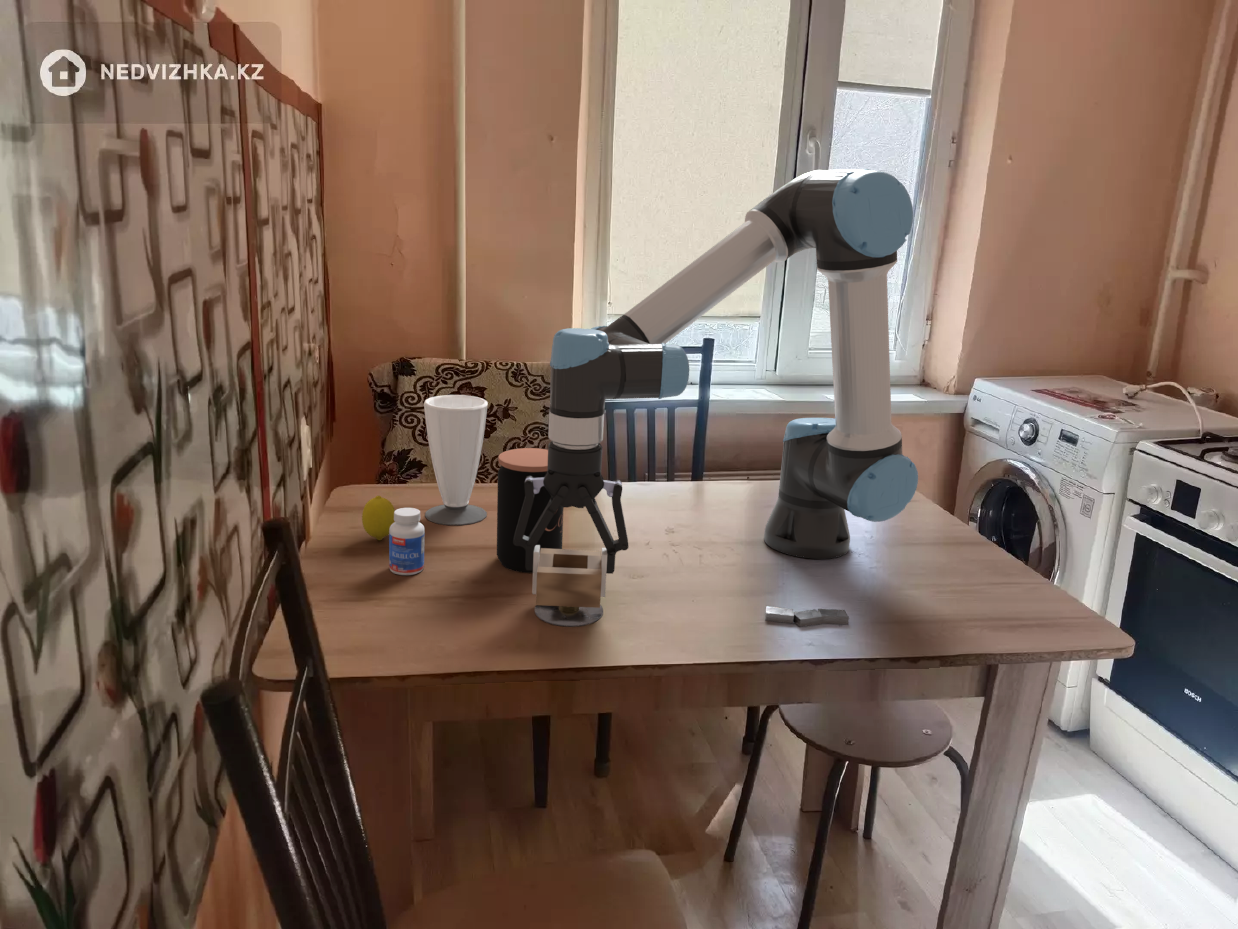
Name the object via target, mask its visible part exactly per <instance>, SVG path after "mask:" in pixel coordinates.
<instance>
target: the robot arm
mask: <svg viewBox="0 0 1238 929" xmlns="http://www.w3.org/2000/svg"><path fill="white" fill-rule="evenodd" d="M913 207H914V206H913V203H912V198H911V196H910V194H909V191H908V190H907V189H906V187H905V185H904V184H903V183H902V182H901V181H900V180H898V178H896V177H895V176H894V175H892V174H890V173H889V172H885V171H880V170H874V169H869V168H856V169H855V168H854V169H851V168H850V169H816V170H812V171H809V172H806V173H803V174H800V175H799V176H796V177H795V178H794V179H792V180H790V181H789V182H787V183H786V184H783V185H782V186H781V187H779V188H778V189H777V190H775V191H774V192H772V193H771V194H770V195H768V196H767V197H766V198H764V199H763V200H761V201H760V202H758V204H757V205H755V206H753V207H752V208H751V209H749V210H748V211H747V212H746V214H745V216H744V222H743V223H742V224H741V225H739V226H738V227H737V228H735V229H734V230H732V232H730V233H729V234H728V235H726V236H725V237H724V238H722V239H721V240H720V241H718V242H717V243H716V244H714V245H713V246H712V247H710V248H709V249H708V250H706V251H705V252H704V253H703V254H701V255H700V256H699V257H697V258H696V259H694V260H693V261H692V262H690V263H689V264H688V265H686V267H684V268H683V269H682V270H680V271H679V272H678V273H677V274H675V275H674V276H673V277H671V278H669V279H668V280H667V281H666V282H665V283H663V284H662V285H661V286H659V287H658V288H657V289H655V290H654V291H653V292H652V293H650V294H649V295H647V296H646V297H645V298H644V299H642V300H641V301H639V302H637V304H636V305H635V306H633V307H632V308H631V309H629V310H628V311H626V312H625V313H623V314H622V315H621V316H620V317H618V318H616V319H615V320H614V321H613V322H611V323H610V324H609V325H603V326H598V325H597V326H593V327H592V328H581V327H579V328H578V327H577V328H576V327H574V328H573V327H571V328H563V329H559V330H558V331H557V332H556V333H555V334H554V336H553V339H552V346H551V354H550V360H549V366H550V383H549V384H550V386H549V388H550V392H549V394H550V396H549V397H550V398H549V400H550V401H549V402H550V403H549V412H548V436H547V437H548V439H549V440H550V442H549V443H548V445H547V450H548V466H547V473H546V475H545V476H544V477H542V478H533V477H532V476H527V477H526V480H525V484H524V487H525V499H524V503H523V507H522V510H521V514H520V517H519V521H518V525H517V528H516V532H515V535H514V540H513V544H514V545H515V546H521V547H523V548H524V549H525V550H526V559H525V568H526V570H532V571H533V573H532V591H531V593H532V595H536V588H537V569H538V563H539V557H540V545H536V544H537V542H538V541H539V539H540V537H541V536H542V534H543V532H544V531H545V529H546V527H547V525H548V524H549V522H550V520H551V519H552V517H553V515H554V514H555V513H556V511H557V509H558V508H559V506H562V507H564V508H570V507H571V508H572V507H573V508H577V509H584V508H585V509H586V511H587V513H588V515H589V516H590V518H591V520H592V522H593V524H594V526H595V528H596V530H597V532H598V535H599V537H600V539H601V540H602V543H603V545H604V547H601V566H602V580H601V598H606V589H607V588H606V585H607V584H606V583H607V574H608V575H609V574H612V575H613V574H614V572H615V564H616V555H617V553H618V552H620V551H627V550H628V549H629V548H630V547H629V546H630V545H629V538H628V534H627V533H628V532H627V528H626V523H625V516H624V512H623V506H622V501H621V500H622V493H623V482H622V480H620V479H614V480H613V481H611V480H607V479H604V477H603V475H602V463H603V446H602V445H601V443H602V442H603V440H604V424H605V411H606V410H605V409H606V408H605V405H606V400H623V399H624V400H625V399H626V400H627V399H629V400H630V399H658V400H660V399H665V398H672V397H678V396H680V395H682V394H683V393H684V391H685V390H686V388H687V387H688V383H689V379H690V378H689V377H690V362H689V359H688V355H687V353H686V351H685V349H684V348H683V347H682V346H680V345H678V344H675V343H674V344H672V343H668V342H670V341H671V340H672V339H673V338H675V337H676V336H678V335H680V333H681V332H683V331H684V330H685V329H686V328H688V327H689V326H691V325H692V324H693V323H695V321H697V320H699V319H700V318H701V317H702V316H704V315H705V314H706V313H708V312H709V311H710V310H711V309H713V308H715V306H717V305H718V304H720V303H721V302H722V301H724V300H725V299H726V298H727V297H728V296H730V295H731V294H732V293H734V292H735V291H737V290H738V289H739V288H740V287H742V286H743V285H745V283H747V282H748V281H750V280H751V279H752V278H753V277H755V276H756V275H757V274H759V273H760V272H761V271H763V270H764V269H765V268H767V267H768V266H769V265H770V264H772V263H773V262H774V263H780V264H782V263H783V262H785V261H786V260H788V259H789V258H791V257H792V256H793V255H794V254H797V253H798V252H799V253H800V252H801V251H805V250H809V249H815V257H816V259H815V260H816V270H817V271H819V272H820V273H821V274H822V275H823V276H825V277H826V279H827V281H828V282H827V283H828V284H827V286H828V302H829V303H828V305H829V306H828V307H829V322H830V343H831V344H830V345H831V360H832V379H833V380H832V382H833V399H834V415H835V416H834V418H832V417H802V418H801V417H800V418H796V419H792V420H791V421H789V422H788V423H787V424H786V427H785V432H784V436H783V440H782V442H783V445H782V458H781V467H780V475H779V476H780V478H779V485H778V496H777V500H776V503H775V505H774V507H773V509H772V511H771V514H770V516H769V517H768V520H767V522H766V524H765V528H764V535H763V540H764V542H765V544H766V545H767V546H769V547H770V548H771V549H773V550H775V551H777V552H780V553H782V554H786V555H789V556H793V557H797V558H802V559H803V558H805V559H814V560H815V559H816V560H819V559H820V560H824V559H825V560H826V559H834V558H838V557H842V556H844V555H846V554H847V553H848V552H849V550H850V543H851V535H850V529H849V523H848V519H847V516H846V511H847V512H849V513H850V514H851V515H852V516H854V517H857V518H862V519H863V520H865V521H868V522H874V523H878V522H881V523H882V522H885V521H888V520H890V519H893V518H895V517H896V516H898V515H899V514H900V513H902V511H904V510H905V509H906V507H907V505H908V504H909V503H910V502H911V501H912V499H913V498H914V496H915V494H916V491H917V488H918V484H919V473H918V469H917V468H918V467H916V464H915V463H914V462H913V461H912V460H911V458H909V457H908V456H906V455H904V454H903V436H902V435H903V434H902V432H901V430H900V429H899V428H898V427H896V426H895V425H894V424H893V423H892V400H891V362H890V361H891V360H890V332H889V329H890V328H889V325H890V324H889V302H888V301H889V298H888V297H889V296H888V273H889V271H891V269H892V268H893V267H894V266H895V265H896V264H897V262H898V250H899V249H900V248H901V247H903V245H904V244H905V243H906V241H907V238H906V237H907V236H909V235H910V234H911V231H912V226H913V222H914V208H913ZM542 486H545V488H546V489H547V491H548V492H549V493H550V495H551V496H552V497H551V498H550V500H549V502H548V504H547V506H546V508H545V510H544V511H543V513H542V515H541V516H540V518H539V520H538V522H537V523H536V525H535V527H534V528H533V530H532V532H531V534H530V535H529V537H527V536H525V535H524V532H525V529H526V525H527V522H528V518H529V515H530V511H531V507H532V504H533V500H534V495H535V494H537V493H539V491H540V488H541V487H542ZM603 489H604V490H605V491H606V495H607V497H609V498H611V505H612V511H613V514H614V522H615V528H616V532H617V537H618V539H615V540H614V538H613V535H612V533H611V531H610V529H609V527H608V525H607V523H606V521H605V518H604V516H603V514H602V512H601V510H600V508H599V505H598V503H597V500H596V497H597V496H598V495H599V493H600V492H602V490H603Z"/></svg>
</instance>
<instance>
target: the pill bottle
mask: <svg viewBox="0 0 1238 929" xmlns="http://www.w3.org/2000/svg"><path fill="white" fill-rule="evenodd" d="M394 510H395V509H394ZM394 521H395V523H393V524H392V525H391V526H390V529H389V535H388V539H389V540H388V542H389V543H388V544H389V546H388V548H389V550H388V551H389V555H388V556H389V559H388V561H389V562H388V566H389V567H388V568H389V571H390V572H392V573H393V574H396V575H399V576H414V575H416V574H419V573H421V572H422V571H423V570H424V568H425V534H426V533H425V526H424V525H423V524H422V523H421V522H420V521H421V510H419V509H418V508H414V507H400V508H396V510H395V511H394Z"/></svg>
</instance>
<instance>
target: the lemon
mask: <svg viewBox="0 0 1238 929" xmlns="http://www.w3.org/2000/svg"><path fill="white" fill-rule="evenodd" d="M394 511H395V507H394V505H393V503H392V502H391V501H390V500H389V499H388V498H386V497H382V496H381V495H376V496H375V497H373V498H371V499H369V500H368V501H367V502H366V503H365V505H364V507H363V510H362V514H361V515H362V516H361V521H362V526H363V529H364V531H365V532H366V533H367V534H368V535H369V536H371V537H372V538H375V539H376V540H378V541H382V539H384V538H385V537H388V536H389V529H390V526H391V525H392V524H393V523H395V521H394Z"/></svg>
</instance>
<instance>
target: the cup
mask: <svg viewBox="0 0 1238 929" xmlns="http://www.w3.org/2000/svg"><path fill="white" fill-rule="evenodd" d="M488 403H489V402H488V401H487V400H486V399H484V398H481V397H478V396H474V395H472V396H471V395H465V394H447V395H438V396H437V395H436V396H431V397H428V398H427V399H425V400H424V402H423V407H424V408H423V410H424V417H425V418H424V419H425V424H426V435H427V440H428V447H429V451H430V452H429V453H430V456H431V462H432V468H433V471H434V475H435V479H436V483H437V484H436V485H437V487H438V491H439V495H440V497H441V500H442V504H440V505H436V506H433V507H431V508H429V509H427V510H426V511H425V512H424V517H425V518H426V520H428V521H429V522H431V523H434V524H437V525H443V526H467V525H468V526H469V525H473V524H477V523H479V522H481V521H483V520H484V519H486V518H487V515H488V511H486V510H485V509H484V508H482V507H481V506H478V505H473V504H469V502H470V499H471V496H472V493H473V489H474V487H475V483H476V482H475V481H476V478H477V474H478V469H479V464H480V459H481V454H482V449H483V443H484V437H485V436H484V435H485V429H486V421H487V420H486V419H487V411H488V405H489V404H488Z"/></svg>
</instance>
